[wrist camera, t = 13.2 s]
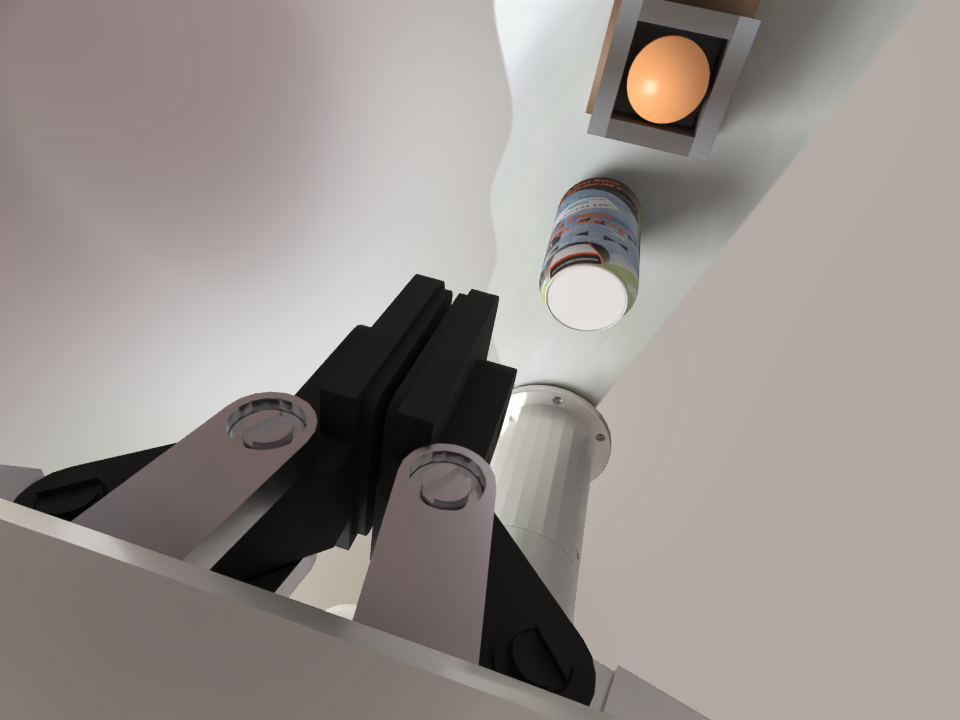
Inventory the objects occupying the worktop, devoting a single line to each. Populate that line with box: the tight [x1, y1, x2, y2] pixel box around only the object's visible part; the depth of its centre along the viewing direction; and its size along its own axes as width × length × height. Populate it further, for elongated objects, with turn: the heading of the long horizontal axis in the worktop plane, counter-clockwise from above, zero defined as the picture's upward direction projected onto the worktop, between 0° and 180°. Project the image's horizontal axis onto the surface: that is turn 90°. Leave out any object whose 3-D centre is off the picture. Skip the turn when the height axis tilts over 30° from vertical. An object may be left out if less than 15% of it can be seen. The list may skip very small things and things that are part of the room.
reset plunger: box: [627, 34, 710, 123], centre depth 30 cm, size 4×4×2 cm
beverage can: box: [539, 178, 641, 333], centre depth 38 cm, size 6×7×12 cm
